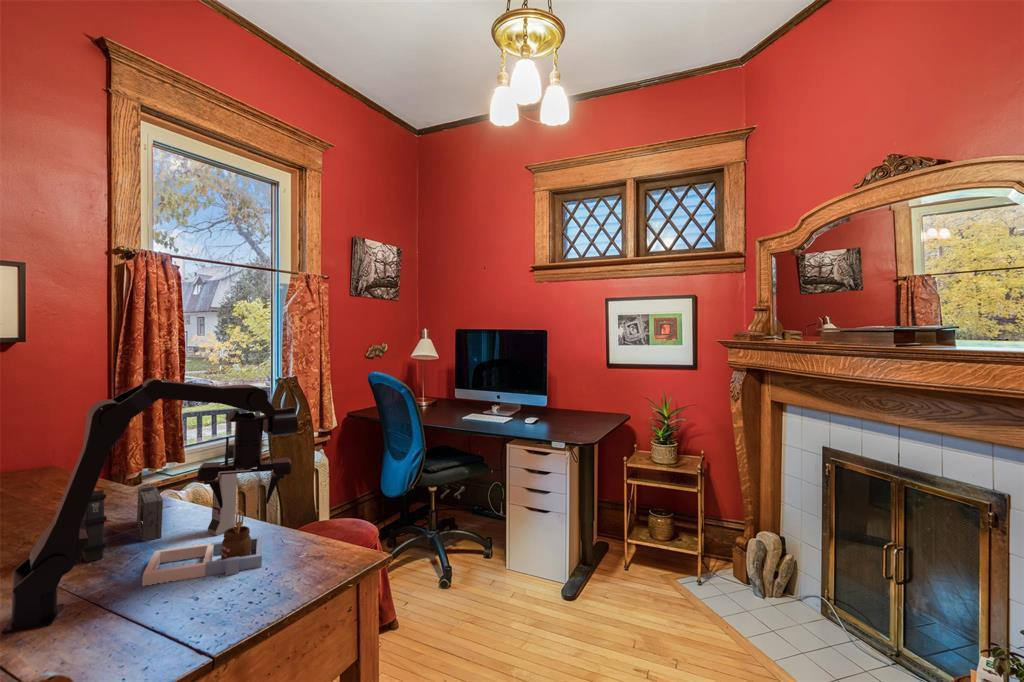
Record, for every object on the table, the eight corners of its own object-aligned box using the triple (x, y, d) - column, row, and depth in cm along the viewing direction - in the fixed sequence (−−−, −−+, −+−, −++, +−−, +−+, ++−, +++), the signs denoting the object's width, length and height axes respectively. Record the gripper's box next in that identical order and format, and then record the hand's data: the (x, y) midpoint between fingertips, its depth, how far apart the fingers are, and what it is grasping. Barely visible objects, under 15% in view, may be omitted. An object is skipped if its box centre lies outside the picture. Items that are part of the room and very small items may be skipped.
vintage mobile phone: (207, 532, 121) (211, 438, 121) (226, 526, 125) (230, 434, 125) (215, 536, 119) (219, 440, 119) (234, 529, 124) (239, 436, 124)
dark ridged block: (85, 561, 100) (84, 492, 105) (77, 567, 108) (76, 503, 113) (108, 556, 103) (106, 488, 108) (98, 562, 111) (97, 499, 115)
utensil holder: (248, 551, 112) (250, 502, 112) (252, 562, 107) (254, 510, 107) (219, 558, 108) (221, 507, 108) (222, 569, 103) (224, 516, 103)
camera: (135, 521, 126) (137, 485, 126) (153, 518, 129) (155, 482, 129) (142, 542, 114) (143, 502, 114) (161, 538, 117) (163, 499, 117)
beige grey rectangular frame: (261, 569, 104) (261, 555, 104) (140, 589, 94) (141, 574, 94) (262, 543, 116) (262, 531, 116) (156, 559, 106) (156, 545, 106)
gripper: (291, 430, 119) (287, 490, 119) (205, 433, 111) (201, 498, 111) (293, 439, 110) (289, 505, 109) (199, 443, 101) (194, 515, 101)
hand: (244, 505), depth 108 cm, fingers open, 9 cm apart
